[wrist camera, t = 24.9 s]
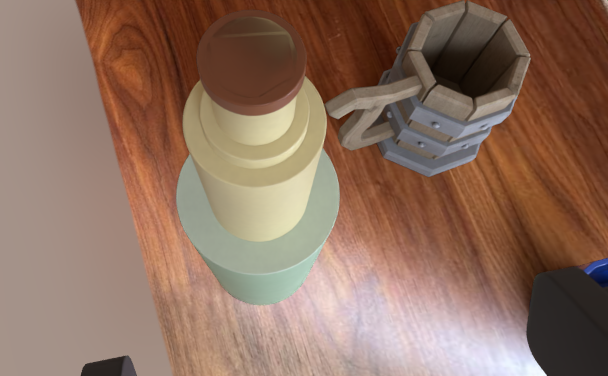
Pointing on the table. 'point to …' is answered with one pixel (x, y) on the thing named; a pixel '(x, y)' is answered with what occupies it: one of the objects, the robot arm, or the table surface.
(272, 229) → the cream bottle
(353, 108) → the tankard
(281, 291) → the green stand
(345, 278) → the table surface
